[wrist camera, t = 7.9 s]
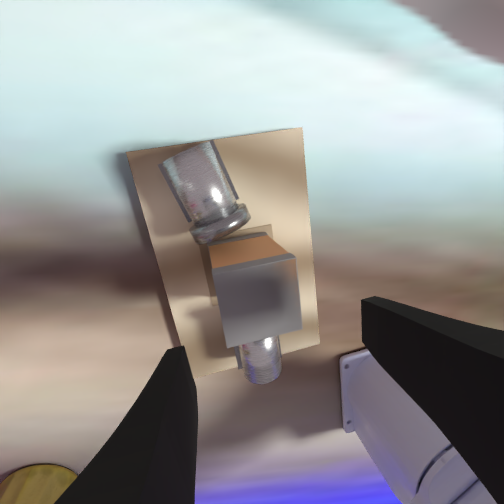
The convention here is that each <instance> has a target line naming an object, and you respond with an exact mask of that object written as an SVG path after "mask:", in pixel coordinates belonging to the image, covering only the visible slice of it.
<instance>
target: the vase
mask: <svg viewBox="0 0 504 504" xmlns="http://www.w3.org/2000/svg"><path fill="white" fill-rule="evenodd" d="M77 477H78V476H77V475H76V474H75V473H74V472H73V471H71V470H69V469H67V468H65V467H62V466H58V465H33V466H29V467H26V468H23V469H20V470H18V471H16V472H14V473H12V474H11V475H9V476H8V477H7V478H6V479H5V480H4V481H2V483H1V484H0V504H54V503H55V501H56V500H57V499H58V498H59V497H60V496H61V495H62V494H63V492H64V491H65V490H66V489H67V488H68V487H69V486H70V485H71V483H72V482H73V481H74V480H75V479H76V478H77Z"/></svg>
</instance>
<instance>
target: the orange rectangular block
mask: <svg viewBox="0 0 504 504" xmlns="http://www.w3.org/2000/svg"><path fill="white" fill-rule="evenodd" d="M207 246H208V251H209V256H210V261H211V266H212V275H213V280H214V285H215V290H216V295H217V300H218V305H219V310H220V315H221V320H222V325H223V330H224V335H225V340H226V345H227V348H230V347H234V346H238V345H242V344H246V343H250V342H254V341H258V340H262V339H266V338H270V337H274V336H278V335H282V334H286V333H290V332H293V331H297V330H301V329H303V326H302V314H301V303H300V292H299V280H298V269H297V258H296V257H295V256H294V255H293V254H292V253H288V252H287V251H286V250H285V249H284V248H282V247H281V246H280V245H279V244H278V243H276V242H275V241H274V240H273V239H272V238H270V237H269V236H268V234H267V233H266V232H261V233H256V234H250V235H245V236H240V237H234V238H229V239H224V240H218V241H213V242H210V243H207Z"/></svg>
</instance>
